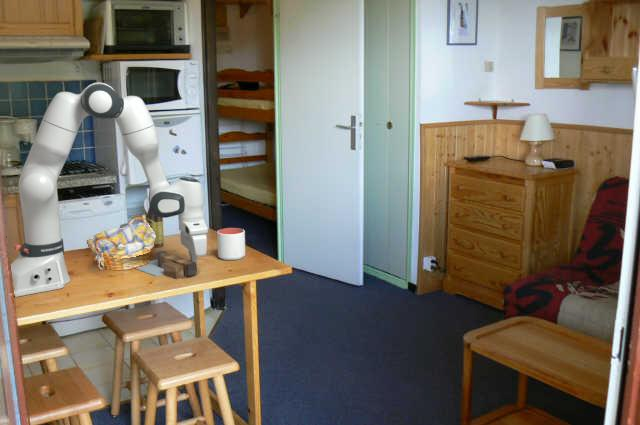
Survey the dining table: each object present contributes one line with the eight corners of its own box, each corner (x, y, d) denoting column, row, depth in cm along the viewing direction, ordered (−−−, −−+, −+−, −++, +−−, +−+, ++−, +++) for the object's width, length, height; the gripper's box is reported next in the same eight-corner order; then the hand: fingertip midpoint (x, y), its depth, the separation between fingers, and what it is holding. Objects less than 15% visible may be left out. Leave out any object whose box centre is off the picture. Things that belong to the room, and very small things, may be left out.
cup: (247, 260, 256) (246, 233, 254) (219, 262, 254) (218, 235, 251) (243, 252, 265) (242, 227, 263) (216, 254, 263) (215, 228, 261)
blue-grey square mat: (156, 276, 238) (156, 275, 237) (130, 267, 248) (130, 266, 248) (194, 266, 249) (194, 265, 249) (168, 257, 260) (168, 256, 260)
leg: (155, 265, 248) (155, 252, 247) (164, 263, 251) (163, 250, 250) (188, 276, 235) (187, 263, 234) (196, 274, 238) (196, 260, 237)
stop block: (178, 279, 234) (177, 268, 233) (164, 274, 239) (163, 263, 238) (198, 274, 240) (197, 263, 239) (184, 269, 245) (183, 258, 244)
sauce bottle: (146, 245, 277) (143, 195, 272) (162, 243, 279) (159, 194, 275) (149, 249, 271) (146, 198, 267) (166, 247, 274) (163, 197, 269)
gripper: (175, 218, 250) (177, 256, 253) (190, 231, 232) (192, 271, 235) (192, 217, 253) (194, 254, 256) (209, 229, 235) (211, 269, 238)
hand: (193, 262), depth 245 cm, fingers closed
